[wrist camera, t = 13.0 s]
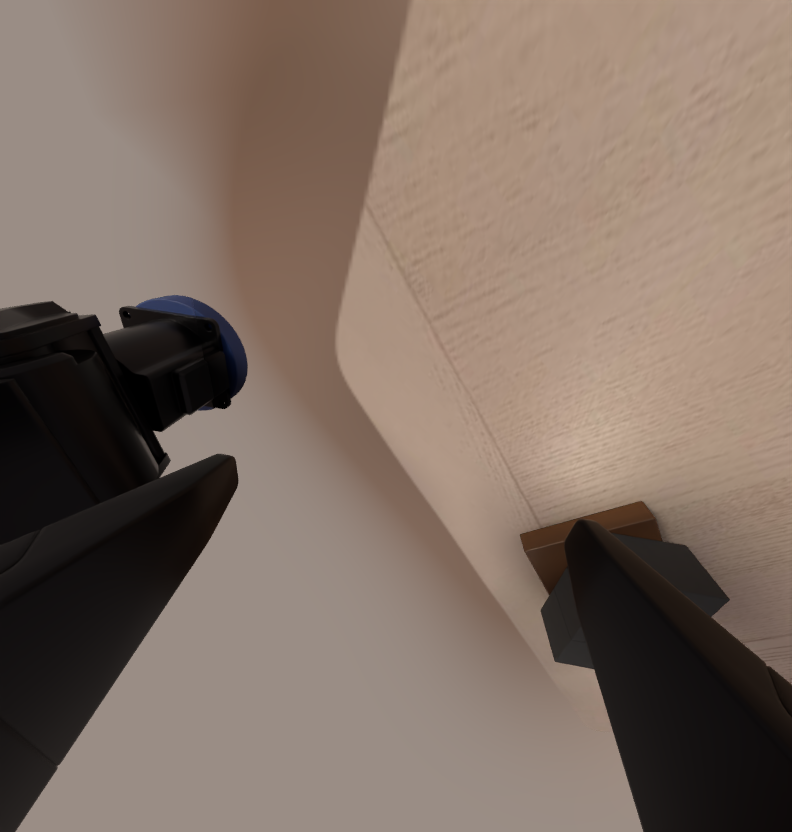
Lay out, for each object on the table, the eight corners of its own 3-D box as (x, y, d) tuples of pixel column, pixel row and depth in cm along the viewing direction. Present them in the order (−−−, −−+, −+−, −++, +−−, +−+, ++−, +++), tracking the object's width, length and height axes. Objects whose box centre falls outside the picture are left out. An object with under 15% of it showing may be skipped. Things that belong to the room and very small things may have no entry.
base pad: (519, 534, 23) (538, 602, 19) (642, 500, 20) (696, 570, 16) (562, 610, 27) (586, 682, 22) (670, 590, 24) (722, 667, 20)
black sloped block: (618, 624, 24) (644, 679, 21) (540, 610, 25) (554, 662, 22) (686, 545, 20) (731, 599, 17) (589, 528, 20) (615, 579, 17)
